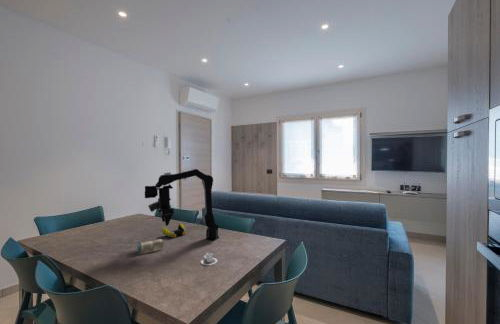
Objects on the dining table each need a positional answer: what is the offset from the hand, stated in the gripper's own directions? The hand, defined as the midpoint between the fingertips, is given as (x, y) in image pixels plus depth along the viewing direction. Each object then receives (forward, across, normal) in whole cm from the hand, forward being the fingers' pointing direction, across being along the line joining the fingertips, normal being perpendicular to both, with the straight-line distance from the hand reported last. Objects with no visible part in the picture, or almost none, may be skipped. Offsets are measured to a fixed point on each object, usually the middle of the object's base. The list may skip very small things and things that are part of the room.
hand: (165, 223), depth 132 cm
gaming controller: (+13, -16, +9) cm, 22 cm away
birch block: (+10, +4, -2) cm, 11 cm away
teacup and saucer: (+14, +32, +16) cm, 38 cm away
